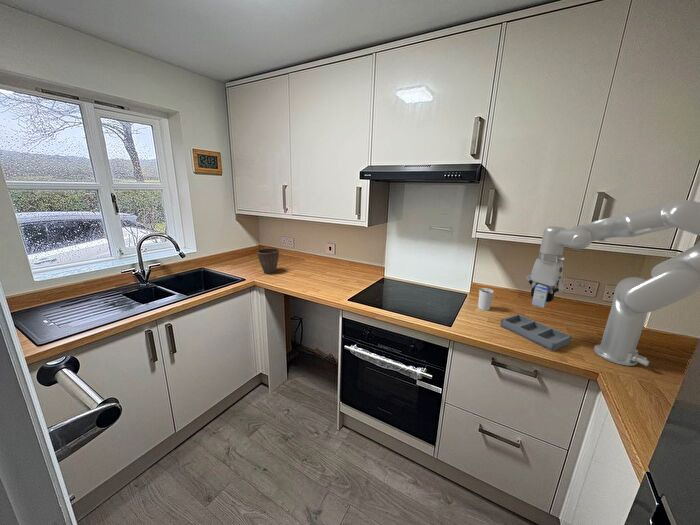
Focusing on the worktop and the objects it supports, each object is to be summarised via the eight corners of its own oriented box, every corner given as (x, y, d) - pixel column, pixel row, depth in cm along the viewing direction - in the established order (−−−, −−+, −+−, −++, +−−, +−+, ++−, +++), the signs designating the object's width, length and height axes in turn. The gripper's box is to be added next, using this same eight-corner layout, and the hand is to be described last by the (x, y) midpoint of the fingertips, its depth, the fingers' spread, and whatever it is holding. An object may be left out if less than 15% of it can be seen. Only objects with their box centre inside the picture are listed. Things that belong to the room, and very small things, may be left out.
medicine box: (536, 299, 124) (540, 281, 122) (548, 302, 121) (552, 283, 119) (531, 304, 119) (535, 285, 117) (543, 308, 116) (547, 288, 114)
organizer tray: (569, 343, 118) (571, 336, 117) (553, 351, 112) (554, 343, 111) (516, 320, 137) (518, 313, 136) (500, 326, 131) (501, 319, 130)
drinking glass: (491, 307, 151) (494, 289, 148) (490, 312, 145) (493, 293, 143) (477, 304, 154) (480, 287, 151) (476, 309, 149) (478, 291, 146)
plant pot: (255, 275, 196) (253, 253, 192) (262, 269, 211) (261, 248, 206) (277, 275, 196) (275, 253, 192) (282, 269, 210) (281, 248, 206)
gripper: (579, 261, 109) (568, 304, 114) (533, 251, 123) (526, 290, 128) (568, 263, 106) (558, 308, 111) (523, 253, 120) (516, 293, 125)
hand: (541, 298), depth 119 cm, fingers closed on medicine box, 5 cm apart
